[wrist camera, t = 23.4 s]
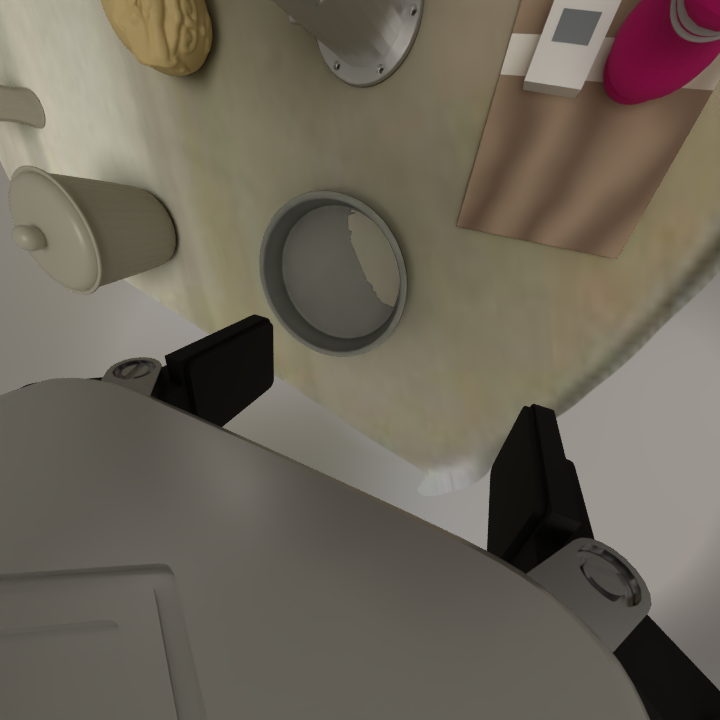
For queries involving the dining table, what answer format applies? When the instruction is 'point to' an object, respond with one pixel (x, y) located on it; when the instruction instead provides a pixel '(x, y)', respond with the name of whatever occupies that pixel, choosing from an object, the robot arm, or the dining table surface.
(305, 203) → the cake pan
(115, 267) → the canister
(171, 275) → the dining table surface
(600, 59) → the brown flat board
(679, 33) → the pepper mill
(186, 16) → the sculpture
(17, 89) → the beer glass
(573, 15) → the block
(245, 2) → the dining table surface
